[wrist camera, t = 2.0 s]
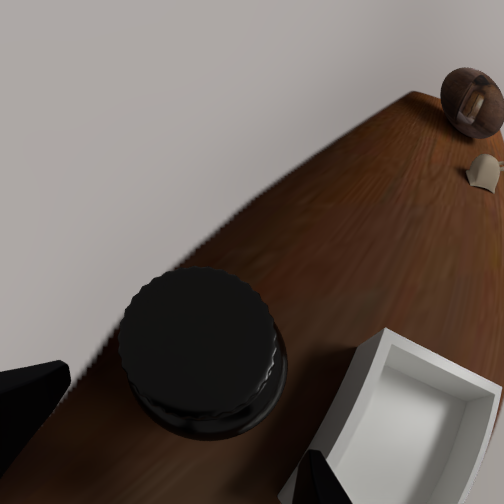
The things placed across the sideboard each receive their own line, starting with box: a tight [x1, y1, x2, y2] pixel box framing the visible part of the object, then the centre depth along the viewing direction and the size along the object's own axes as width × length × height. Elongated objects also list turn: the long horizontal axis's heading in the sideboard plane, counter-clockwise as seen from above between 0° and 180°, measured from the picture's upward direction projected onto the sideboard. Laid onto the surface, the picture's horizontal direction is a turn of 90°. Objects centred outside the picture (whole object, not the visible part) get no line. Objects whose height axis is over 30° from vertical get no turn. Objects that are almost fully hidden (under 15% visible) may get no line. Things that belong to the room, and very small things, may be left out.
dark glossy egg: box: [440, 68, 504, 139], centre depth 37 cm, size 15×15×15 cm
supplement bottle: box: [118, 266, 288, 441], centre depth 13 cm, size 7×7×12 cm
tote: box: [277, 328, 502, 504], centre depth 13 cm, size 13×13×4 cm
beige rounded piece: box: [466, 154, 504, 193], centre depth 31 cm, size 4×8×5 cm, turn 85°
